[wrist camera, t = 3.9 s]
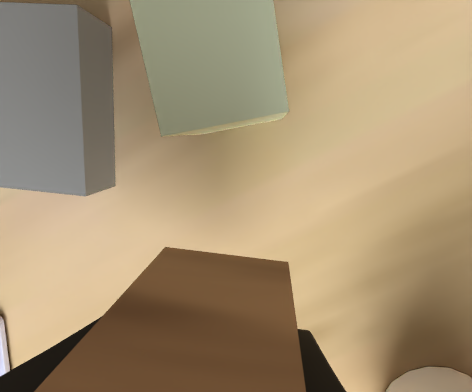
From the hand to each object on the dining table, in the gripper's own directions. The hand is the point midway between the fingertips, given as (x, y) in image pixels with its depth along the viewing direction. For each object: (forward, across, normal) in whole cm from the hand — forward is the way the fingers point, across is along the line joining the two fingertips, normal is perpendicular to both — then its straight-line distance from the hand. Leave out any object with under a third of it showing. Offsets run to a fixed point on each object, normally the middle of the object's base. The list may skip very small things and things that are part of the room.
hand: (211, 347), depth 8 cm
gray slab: (+8, +11, -6) cm, 15 cm away
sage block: (+8, +1, -8) cm, 11 cm away
